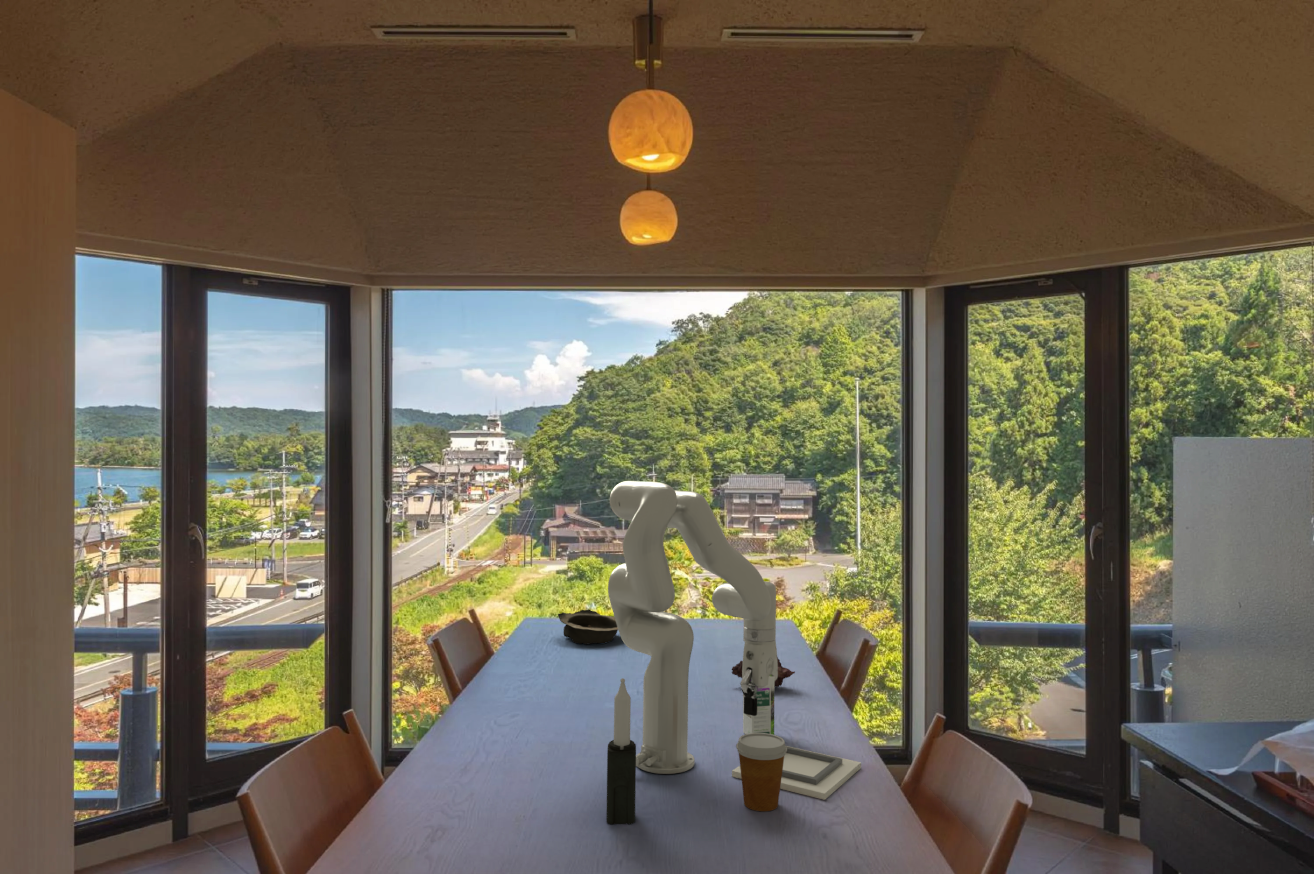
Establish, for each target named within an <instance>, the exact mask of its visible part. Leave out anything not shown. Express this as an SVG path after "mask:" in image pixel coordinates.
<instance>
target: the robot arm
mask: <svg viewBox="0 0 1314 874" xmlns="http://www.w3.org/2000/svg"><path fill="white" fill-rule="evenodd" d="M609 505H610V509H611V510H612V512H613V514H615V516H617V517H618V518H619V519H621V520H624V521H629V522H630V524H629V526H628V528H627V530H626V532H625V535H624V538H623V541H622V552H623V553H622V554H623V556H624V557H623V558H624V561H625V562H624V563H621V564H619V565H618V566H616V567H615V568H614V569H613V570H612V571H611V574H610V576H609V579H608V583H607V594H608V599H609V602H610V605H611V610H612V613H613V617H615V620H616V624H617V627H618V632H619V635H620V638H621V640H622V641H623V643H624V645H625V646H626V647H627V648H628V649H631V650H633V651H635V652H638V653H641V654H644V655H648V656H649V657H650V660H649V663H648V665H647V667H646V669H645V672H644V675H643V685H642V686H643V688H642V690H643V693H642V695H643V697H642V698H643V699H642V701H643V702H642V745H641V746H640V752H639V753H636V768H638V769H641V770H643V771H645V772H648V773H652V774H660V775H674V774H675V775H676V774H680V773H681V774H682V773H684V772H687V771H689V770H691V769H692V768H693V767H695V765H696V764H695V761H696V759H695V756H694V755H693V754H691V753H690V752H688V741H689V740H688V739H689V738H688V737H689V736H688V734H689V733H688V732H689V731H688V730H689V726H688V725H689V724H688V722H689V672H690V671H689V670H690V662H691V656H692V651H693V646H694V639H695V635H694V631H693V628H692V626H691V624H690V623H689V622H688V621H687V620H686V619H685V618H684V617H682V616H680V615H678V614H675V613H671V612H666V611H667V610H670V608H671V607H672V605H673V604H674V602H675V598H676V595H675V594H676V591H675V586H674V582H673V578H672V573H671V571H670V567H669V564H668V560H667V557H666V552H665V547H664V538H665V534H666V530H667V528H669V529H670V528H671V529H676V530H677V531H678V532H679V534H680V536H681V537H682V539H683V541H684V542H685V544H686V547H687V549H688V550H689V552H690V554H691V556H692V558H693V560H694V561H695V563H696V564H698V565H699V566H700V567H702V568H703V569H704V570H706V571H707V572H709V573H711V574H713V575H714V576H717V577H719V578H720V579H722V580H724V581H725V582H724V583H721V584H719V585H718V586H717V587H716V588H715V589H714V591H713V592H712V595H711V602H712V606H713V607H714V609H715V610H716V611H717V612H719V613H720V614H722V615H725V616H728V617H729V616H730V617H734V618H739V619H743V642H744V645H743V655H742V661H743V666H742V678H741V681H740V683H739V684H740V687H741V690H742V691H741V692H742V697H744V714H747V715H752V716H756V715H757V698H755V697H756V694H757V690H758V687H760V688H762V687H764V686H766V685H768V677H769V676H770V675H773V676H774V681H775V680H776V679H777V678H778V663H777V657H778V650H777V643H776V640H777V638H776V637H777V636H776V635H777V633H776V632H777V631H776V630H777V628H776V626H777V625H776V624H777V587H776V585H775V584H774V582H770V581H765V580H764V578H763V576H762V574H761V573H760V572H759V570H758V569H757V568H756V567H755V566H754V565H753V563H752V562H750V561H749V560H748V559H747V558H746V557H745V556H744V555H743V554H742V553H741V552H739V550H737V549H736V548H735V547H734V546H732V545H731V543H730V542H729V541H728V539H727V537H726V535H725V534H724V532H723V530H722V528H721V525H720V524H719V522H718V520H717V518H716V516H715V514H714V512H713V510H712V508H711V506H710V504H709V502H708V501H707V499H706V497H704V496H703V495H702V494H700V493H699V492H696V491H692V490H691V491H690V490H678V489H674V488H673V487H672V486H671V485H669V484H667V483H663V482H659V481H646V480H645V481H641V480H640V481H639V480H624V481H621V482H619V483H618V484H616V485H615V486H614V487H613V489H612V490H611V492H610V496H609ZM751 677H753V680H754V683H755V684H751V683H750V680H751ZM749 687H754V688H753V692H752V690H751V689H750V688H749Z"/></svg>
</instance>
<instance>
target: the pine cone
mask: <svg viewBox="0 0 1314 874" xmlns="http://www.w3.org/2000/svg"><path fill="white" fill-rule="evenodd" d="M780 661H781V660H780V659H779V658H778V656H777V663H778V678H777V679H776V680H775V681H774V689H775V688H776V687H777V688H778V687H781V686H783V682H784V680H785V679H787V678H790V677H791V676H792V675H793V674H794V675H795V673H796V671H792V670H790V669H789V668H786V667H783V666H782V663H781V662H780ZM742 666H743V660H740V661H739V662H738V663H737V664H735V665H734V666H732V667H731V673H732V675H734V676H737V677H738V678H741V679H742Z"/></svg>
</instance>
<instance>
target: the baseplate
mask: <svg viewBox="0 0 1314 874" xmlns="http://www.w3.org/2000/svg"><path fill="white" fill-rule="evenodd" d="M785 746H786V747H787V752H786V754H785V756H784V763H783V770H782V778H781V786H780V790H784V791H788V792H793V793H794V794H795V793H796V794H800V795H804V796H808V797H810V798H811V797H812V798H816V799H820V800H824V801H825V800H827V798H829V797H830V796H831V795H832V794H833V793H834V792H836V790H838V789H839V788H840V787H841V786H843V784H845V783H846V782H847V781H848V780H849V779H850V778H852V777H853V776H854V775H856V773H857V772H858V771H860V770H861V769H862V762H861V761H856V760H854V759H853V760H852V759H847V758H843V757H839V756H838V757H837V756H833V755H828V754H825V753H820V752H815V751H810V750H807V749H802V748H799V747H793V746H788V745H785ZM731 777H732V778H737V779H740V780H742V778H741V769H740V765H738V766H737V767H735V768H734V769H732V770H731Z"/></svg>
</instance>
